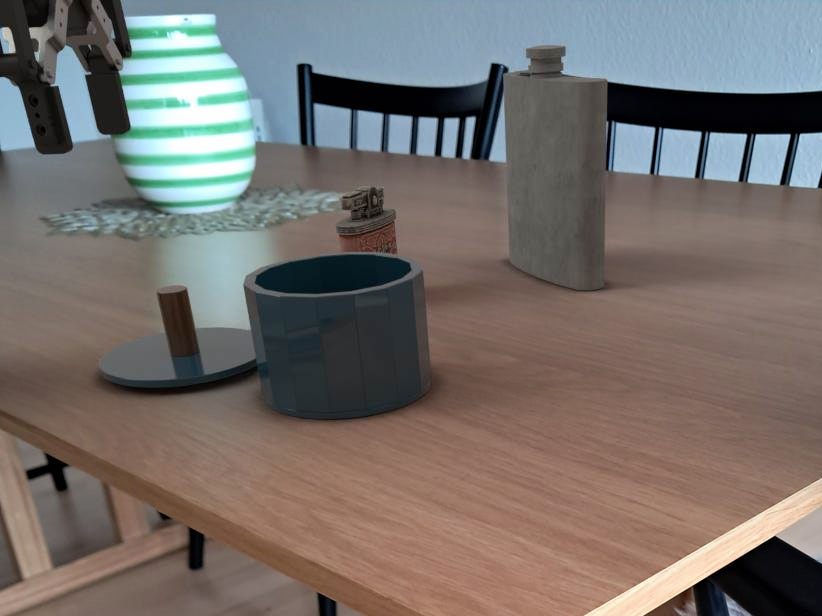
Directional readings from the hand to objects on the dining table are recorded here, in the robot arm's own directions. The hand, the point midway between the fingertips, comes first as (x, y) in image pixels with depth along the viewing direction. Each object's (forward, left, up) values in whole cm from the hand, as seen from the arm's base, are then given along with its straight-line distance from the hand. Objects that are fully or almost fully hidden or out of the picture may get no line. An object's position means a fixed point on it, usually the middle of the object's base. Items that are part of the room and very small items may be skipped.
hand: (87, 143), depth 67 cm
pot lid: (+2, +7, -17) cm, 18 cm away
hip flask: (+36, +27, -18) cm, 48 cm away
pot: (+15, -2, -18) cm, 23 cm away
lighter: (+18, +23, -18) cm, 34 cm away
